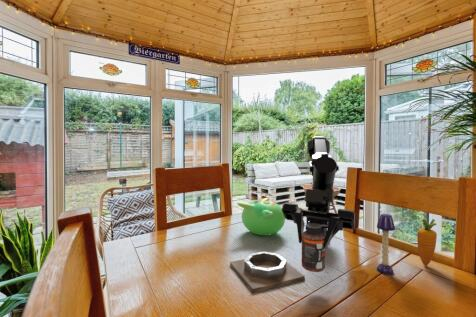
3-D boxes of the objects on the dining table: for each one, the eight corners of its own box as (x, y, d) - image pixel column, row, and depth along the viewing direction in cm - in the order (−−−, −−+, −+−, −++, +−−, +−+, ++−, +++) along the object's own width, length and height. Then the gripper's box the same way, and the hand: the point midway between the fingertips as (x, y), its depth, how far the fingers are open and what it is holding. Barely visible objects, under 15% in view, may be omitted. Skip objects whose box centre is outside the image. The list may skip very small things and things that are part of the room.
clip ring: (272, 257, 85) (272, 249, 84) (293, 273, 74) (293, 265, 74) (239, 263, 80) (239, 255, 80) (256, 282, 70) (256, 273, 69)
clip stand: (274, 256, 88) (274, 253, 87) (304, 279, 73) (304, 276, 73) (230, 265, 81) (230, 261, 81) (252, 292, 67) (252, 288, 67)
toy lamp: (371, 268, 79) (373, 213, 78) (382, 265, 81) (384, 212, 80) (386, 275, 75) (388, 218, 74) (397, 272, 77) (399, 216, 75)
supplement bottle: (326, 274, 65) (327, 229, 64) (302, 272, 66) (302, 228, 65) (323, 262, 71) (324, 222, 70) (300, 261, 72) (301, 221, 71)
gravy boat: (290, 231, 111) (291, 197, 109) (273, 245, 96) (274, 206, 95) (253, 224, 120) (253, 192, 119) (232, 236, 106) (232, 200, 105)
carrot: (432, 263, 82) (434, 216, 81) (438, 270, 77) (440, 221, 76) (413, 260, 84) (415, 214, 83) (418, 268, 79) (420, 219, 78)
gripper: (283, 174, 74) (269, 224, 66) (355, 179, 66) (350, 237, 57) (291, 196, 82) (279, 243, 73) (357, 202, 73) (352, 257, 65)
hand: (312, 244), depth 67 cm, fingers closed on supplement bottle, 6 cm apart
